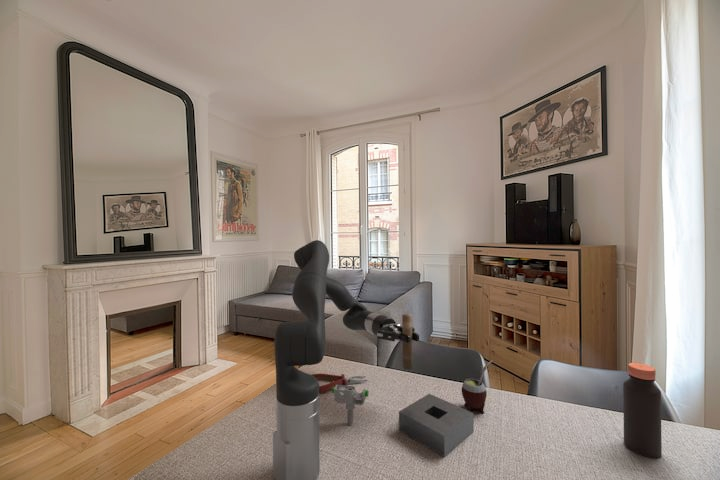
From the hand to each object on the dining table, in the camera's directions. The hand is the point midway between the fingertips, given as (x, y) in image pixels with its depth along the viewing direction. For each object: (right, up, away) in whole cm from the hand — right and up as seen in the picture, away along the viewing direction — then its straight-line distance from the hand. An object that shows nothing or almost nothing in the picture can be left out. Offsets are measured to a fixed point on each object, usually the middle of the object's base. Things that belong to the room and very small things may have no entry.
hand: (413, 338), depth 90 cm
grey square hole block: (+4, -22, -9) cm, 24 cm away
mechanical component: (-19, -22, -6) cm, 30 cm away
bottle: (+53, -22, -16) cm, 59 cm away
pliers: (-25, -23, +16) cm, 38 cm away
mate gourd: (+19, -22, +2) cm, 29 cm away
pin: (-2, -10, +2) cm, 10 cm away
